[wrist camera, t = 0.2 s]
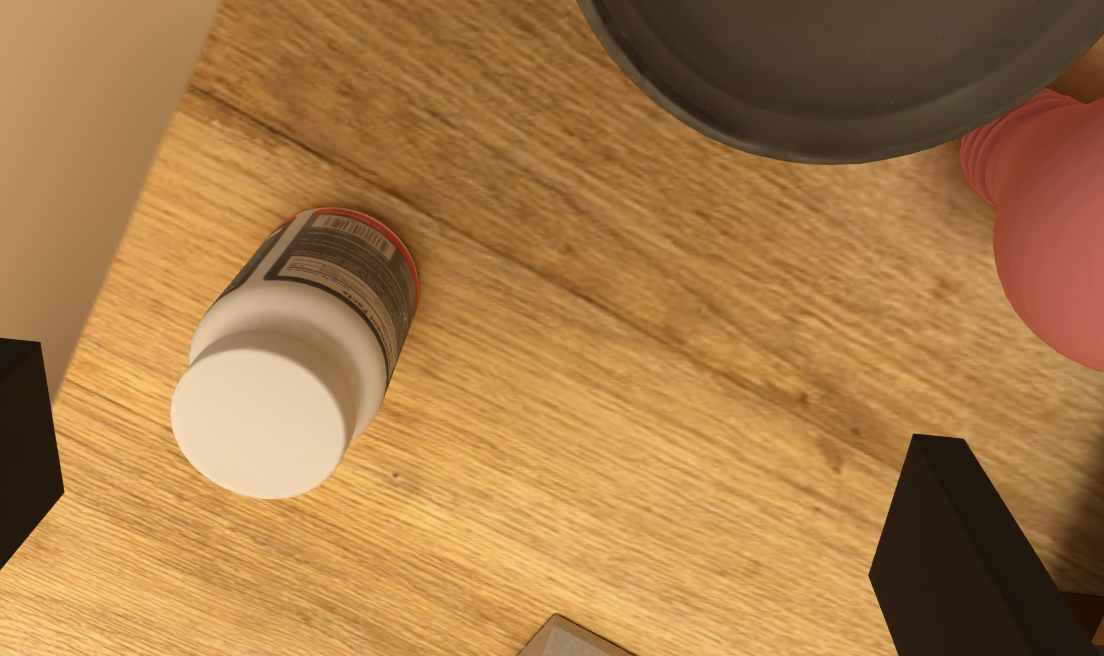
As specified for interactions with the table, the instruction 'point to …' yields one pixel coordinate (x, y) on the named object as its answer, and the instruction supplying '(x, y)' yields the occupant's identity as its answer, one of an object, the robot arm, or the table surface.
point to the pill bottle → (296, 354)
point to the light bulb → (1047, 216)
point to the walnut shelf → (1088, 614)
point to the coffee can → (842, 67)
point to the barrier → (568, 641)
